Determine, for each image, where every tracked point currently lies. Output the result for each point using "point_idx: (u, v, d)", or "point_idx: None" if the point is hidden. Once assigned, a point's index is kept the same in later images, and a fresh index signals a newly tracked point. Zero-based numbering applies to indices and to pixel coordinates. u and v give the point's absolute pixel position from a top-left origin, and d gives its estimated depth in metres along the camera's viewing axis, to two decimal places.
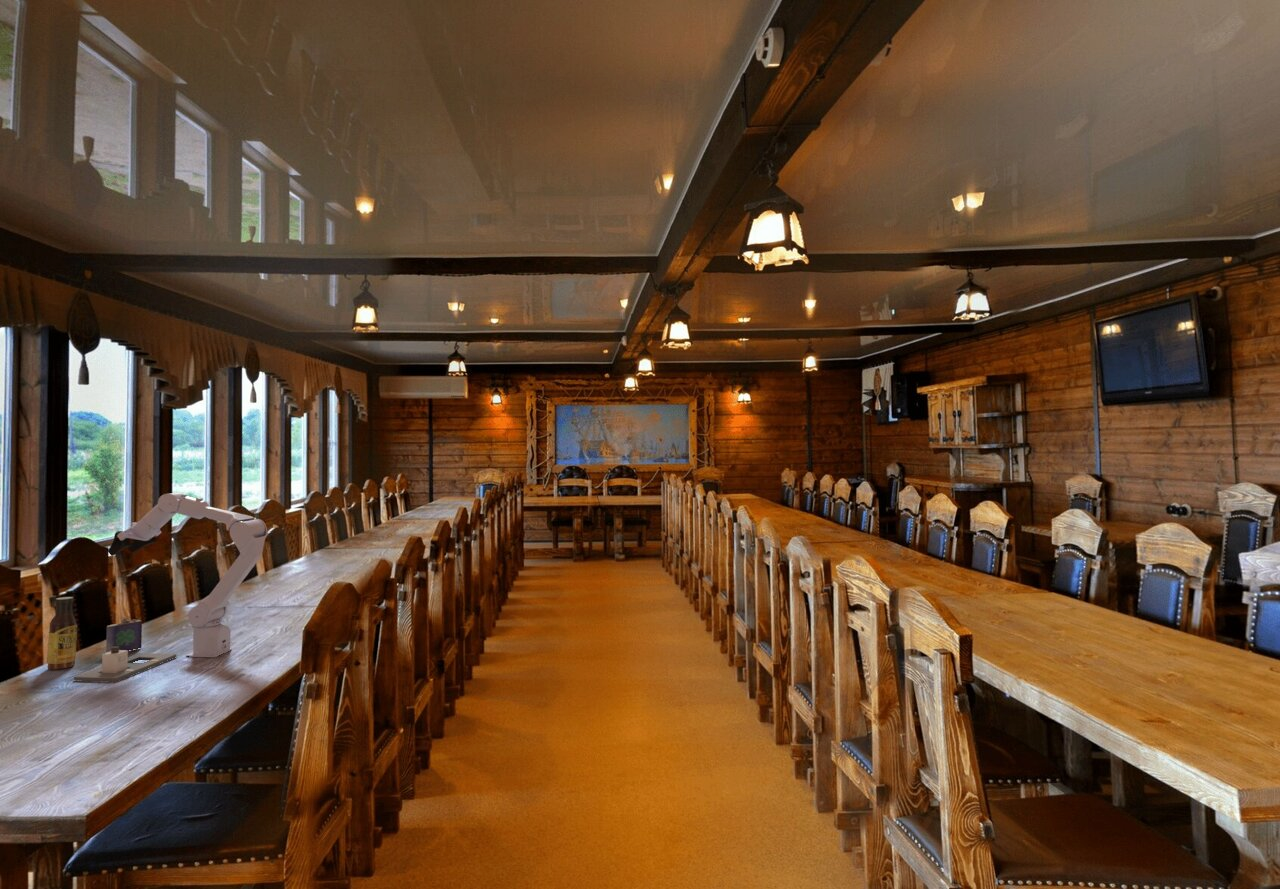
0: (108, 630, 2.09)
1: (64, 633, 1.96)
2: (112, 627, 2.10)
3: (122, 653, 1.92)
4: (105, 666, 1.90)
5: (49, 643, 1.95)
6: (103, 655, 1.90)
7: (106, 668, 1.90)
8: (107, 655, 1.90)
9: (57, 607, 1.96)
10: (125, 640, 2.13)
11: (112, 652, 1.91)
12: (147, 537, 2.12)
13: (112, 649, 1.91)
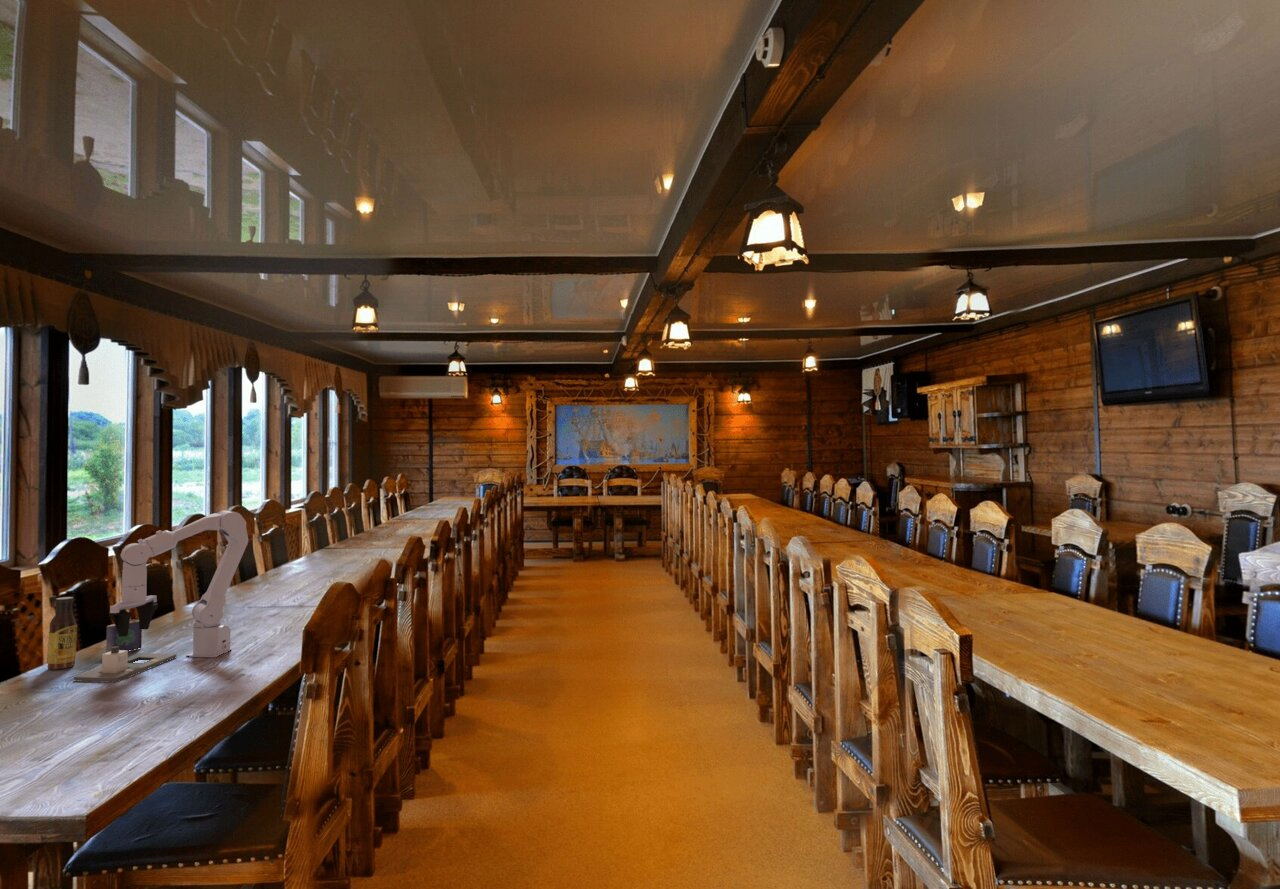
0: (108, 630, 2.09)
1: (64, 633, 1.96)
2: (112, 627, 2.10)
3: (122, 653, 1.92)
4: (105, 666, 1.90)
5: (49, 643, 1.95)
6: (103, 655, 1.90)
7: (106, 668, 1.90)
8: (107, 655, 1.90)
9: (57, 607, 1.96)
10: (125, 640, 2.13)
11: (112, 652, 1.91)
12: (141, 599, 1.98)
13: (112, 649, 1.91)
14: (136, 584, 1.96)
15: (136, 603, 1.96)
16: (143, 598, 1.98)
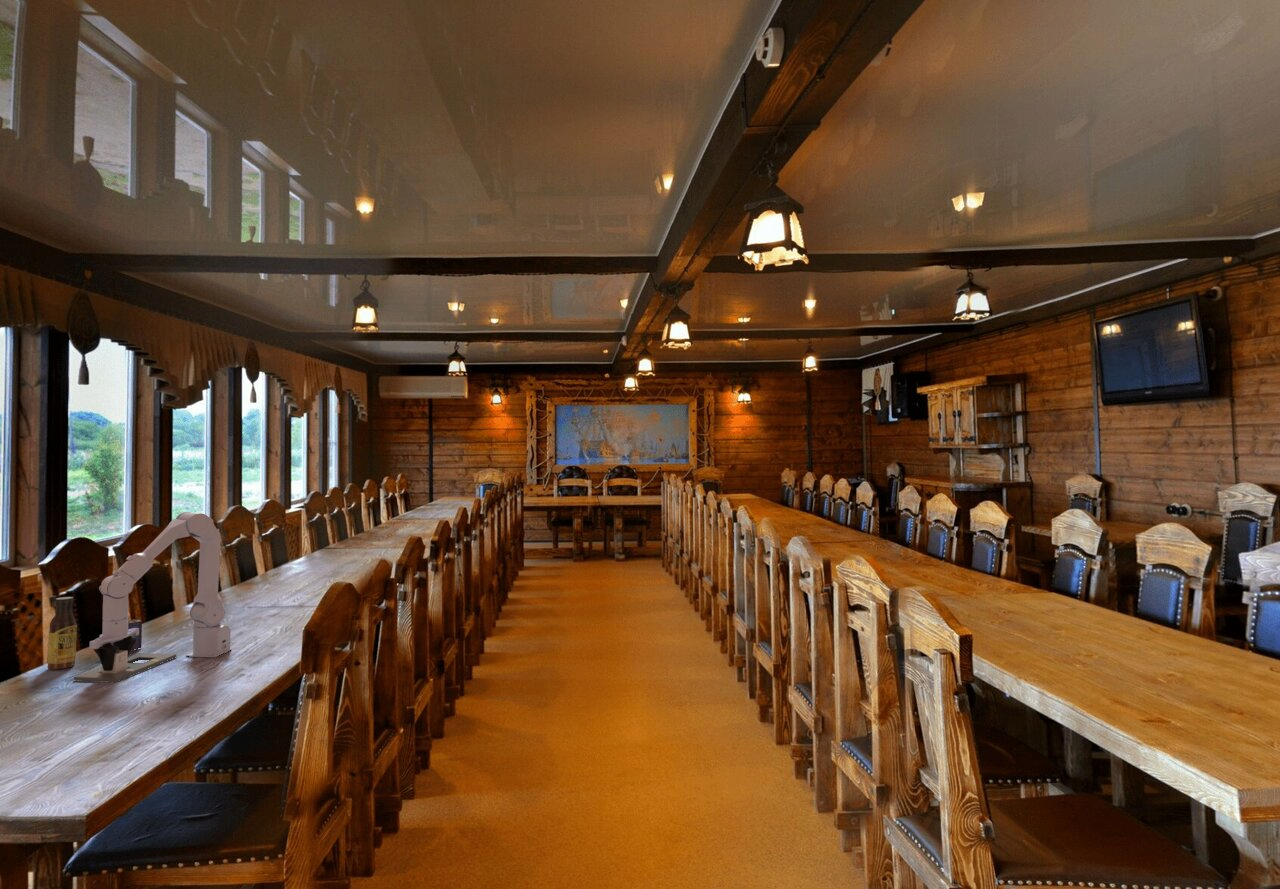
0: None
1: (64, 633, 1.96)
2: None
3: (122, 653, 1.92)
4: None
5: (49, 643, 1.95)
6: None
7: None
8: None
9: (57, 607, 1.96)
10: None
11: None
12: (122, 633, 1.91)
13: None
14: (119, 618, 1.90)
15: (117, 638, 1.90)
16: (124, 632, 1.92)
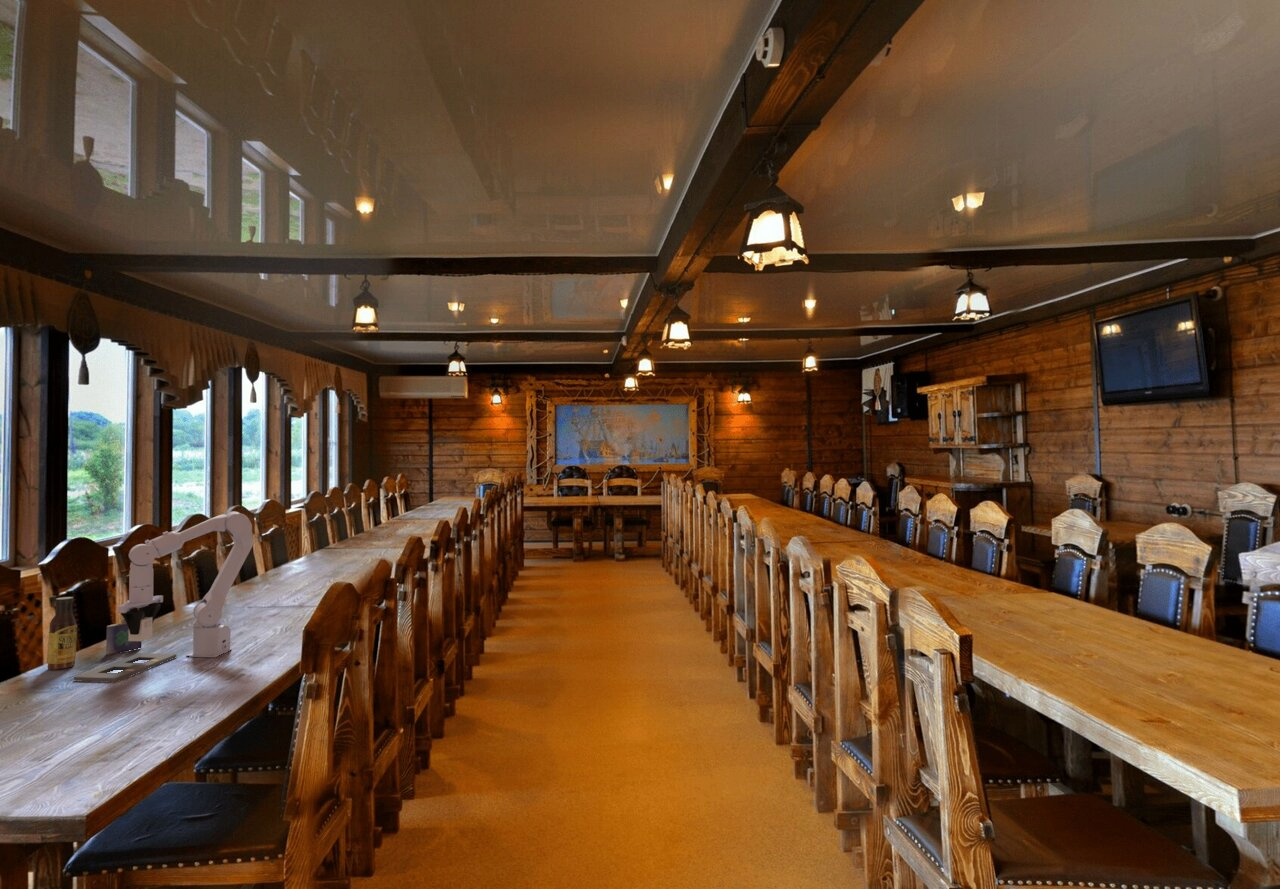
0: (108, 630, 2.09)
1: (64, 633, 1.96)
2: (112, 627, 2.10)
3: (147, 619, 2.01)
4: None
5: (49, 643, 1.95)
6: None
7: None
8: None
9: (57, 607, 1.96)
10: (125, 640, 2.13)
11: None
12: (148, 599, 2.00)
13: None
14: (142, 584, 1.99)
15: (143, 603, 1.99)
16: (150, 598, 2.01)
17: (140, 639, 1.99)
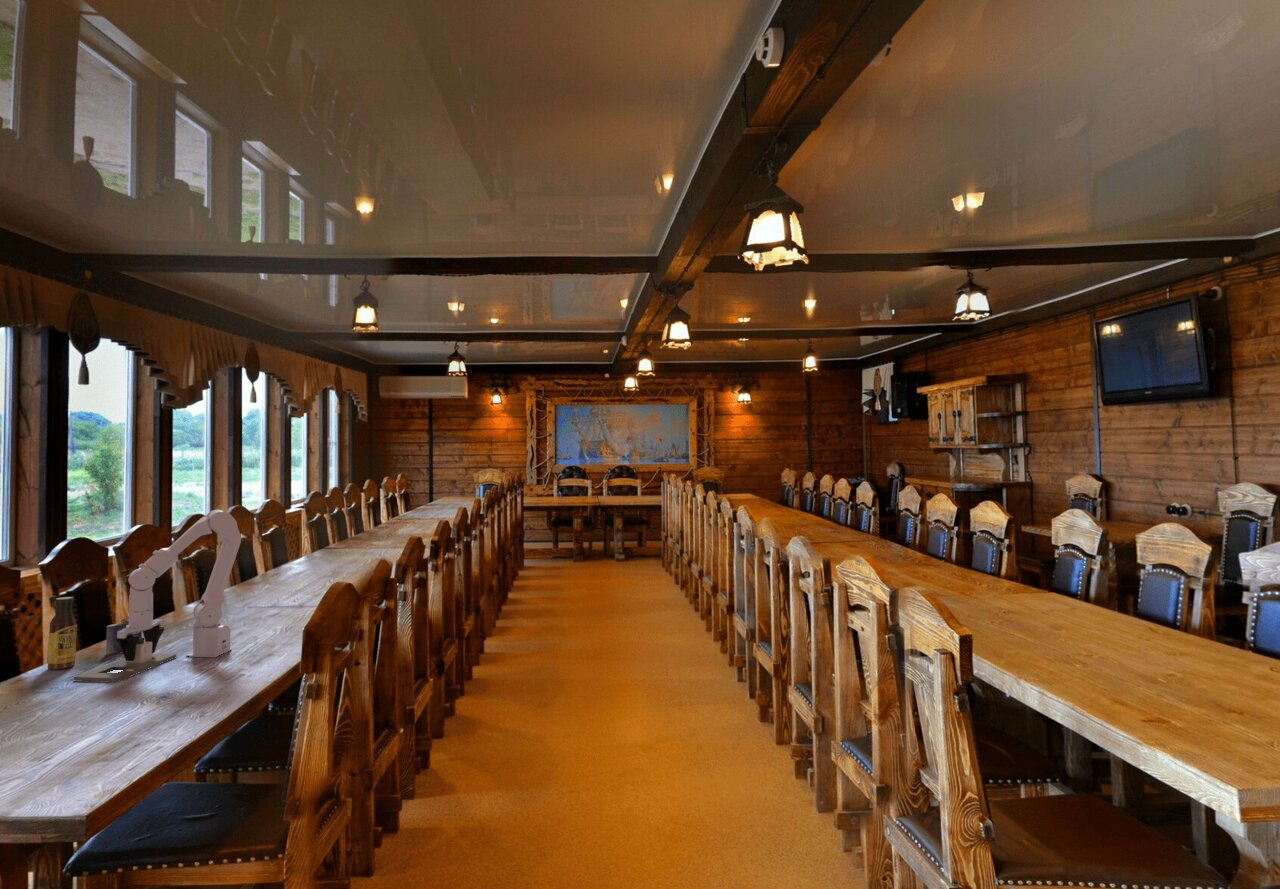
0: (108, 630, 2.09)
1: (64, 633, 1.96)
2: (112, 627, 2.10)
3: (147, 644, 2.01)
4: None
5: (49, 643, 1.95)
6: None
7: None
8: None
9: (57, 607, 1.96)
10: None
11: (138, 643, 2.00)
12: (148, 624, 2.00)
13: (138, 640, 2.00)
14: (141, 609, 1.99)
15: (143, 628, 1.98)
16: (149, 623, 2.01)
17: None
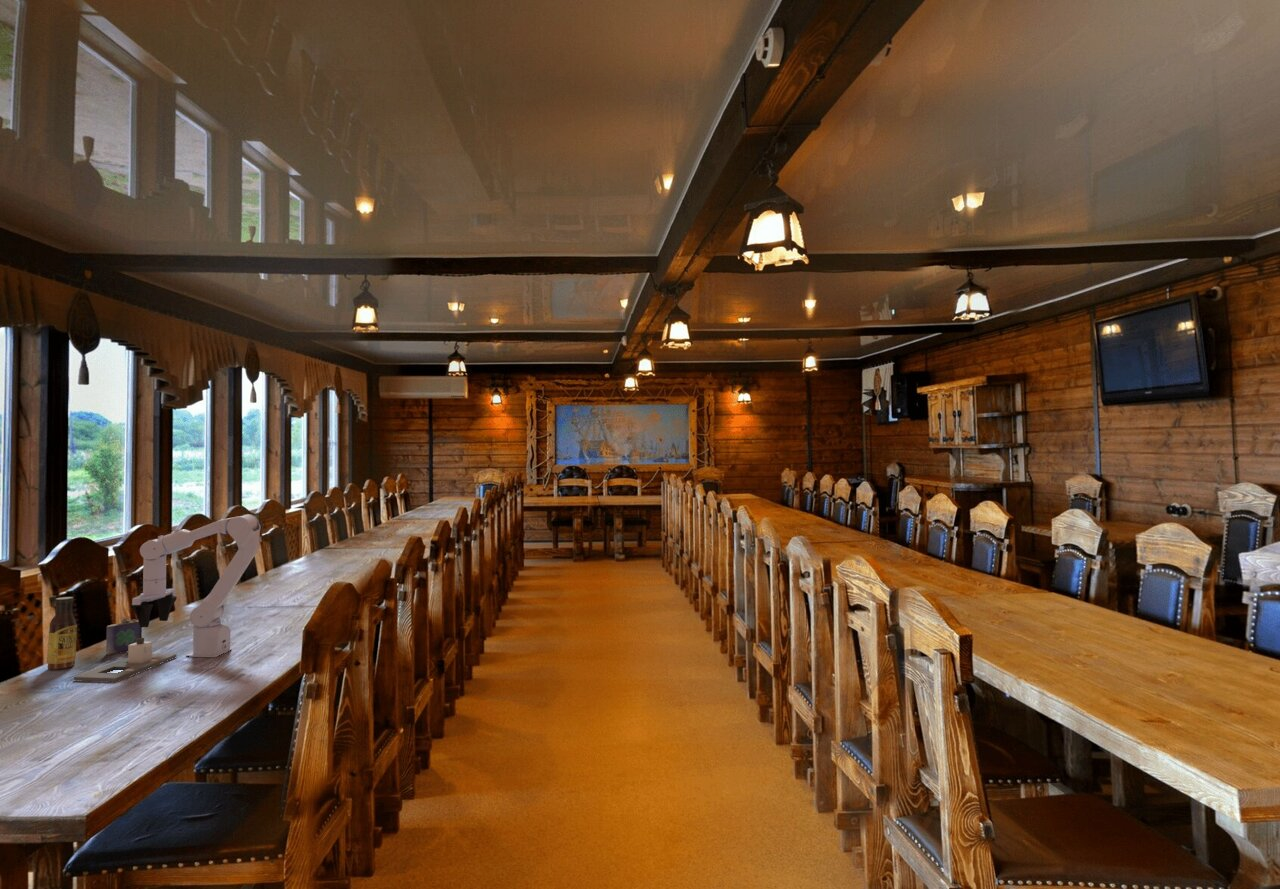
0: (108, 630, 2.09)
1: (64, 633, 1.96)
2: (112, 627, 2.10)
3: (147, 644, 2.01)
4: (131, 657, 1.99)
5: (49, 643, 1.95)
6: (129, 646, 1.99)
7: (132, 658, 1.99)
8: (133, 646, 1.99)
9: (57, 607, 1.96)
10: (125, 640, 2.13)
11: (138, 643, 2.00)
12: (161, 592, 2.08)
13: (138, 640, 2.00)
14: (150, 578, 2.06)
15: (156, 596, 2.06)
16: (163, 591, 2.08)
17: None
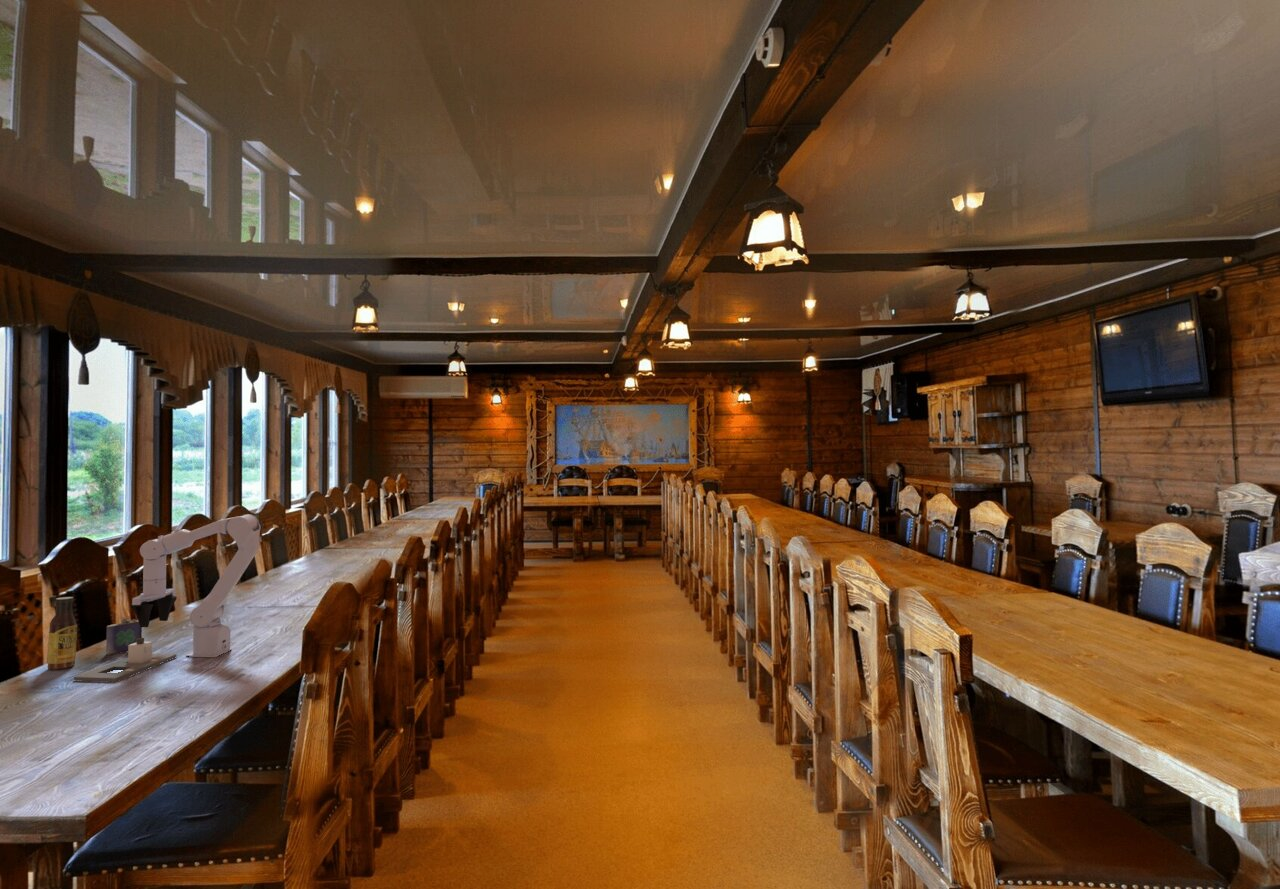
0: (108, 630, 2.09)
1: (64, 633, 1.96)
2: (112, 627, 2.10)
3: (147, 644, 2.01)
4: (131, 657, 1.99)
5: (49, 643, 1.95)
6: (129, 646, 1.99)
7: (132, 658, 1.99)
8: (133, 646, 1.99)
9: (57, 607, 1.96)
10: (125, 640, 2.13)
11: (138, 643, 2.00)
12: (161, 592, 2.08)
13: (138, 640, 2.00)
14: (150, 578, 2.06)
15: (156, 596, 2.06)
16: (163, 591, 2.08)
17: None
